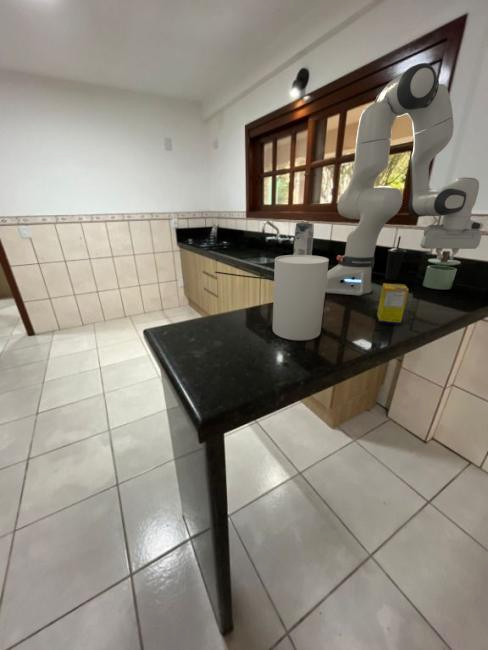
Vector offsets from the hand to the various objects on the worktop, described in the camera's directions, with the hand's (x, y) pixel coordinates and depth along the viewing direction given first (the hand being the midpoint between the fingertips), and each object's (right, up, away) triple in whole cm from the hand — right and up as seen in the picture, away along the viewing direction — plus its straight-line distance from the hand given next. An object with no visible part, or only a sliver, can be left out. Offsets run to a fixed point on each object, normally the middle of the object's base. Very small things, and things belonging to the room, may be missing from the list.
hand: (444, 259), depth 110 cm
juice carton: (-52, +2, +36) cm, 64 cm away
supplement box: (-40, -26, -29) cm, 56 cm away
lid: (0, -1, 0) cm, 1 cm away
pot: (0, -11, +5) cm, 12 cm away
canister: (-69, -29, -34) cm, 82 cm away
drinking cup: (-12, -5, +20) cm, 23 cm away
